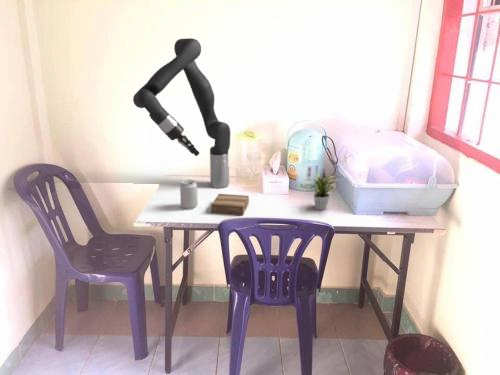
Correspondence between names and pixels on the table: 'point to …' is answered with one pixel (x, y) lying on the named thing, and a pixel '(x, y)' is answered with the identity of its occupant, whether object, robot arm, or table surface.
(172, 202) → the table surface
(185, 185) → the can
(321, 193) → the house plant
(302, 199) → the table surface
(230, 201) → the plinth
